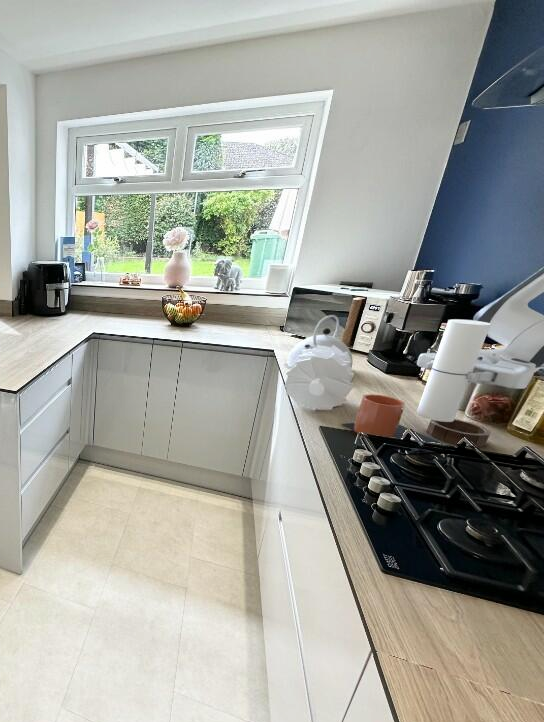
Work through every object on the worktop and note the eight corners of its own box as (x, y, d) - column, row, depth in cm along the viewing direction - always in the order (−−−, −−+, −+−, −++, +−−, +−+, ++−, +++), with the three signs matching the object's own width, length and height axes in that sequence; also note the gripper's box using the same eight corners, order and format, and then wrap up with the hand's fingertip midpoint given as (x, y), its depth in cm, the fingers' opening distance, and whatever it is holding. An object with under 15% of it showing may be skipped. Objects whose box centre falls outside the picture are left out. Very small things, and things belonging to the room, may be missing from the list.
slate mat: (458, 451, 102) (458, 450, 101) (402, 455, 100) (402, 453, 100) (390, 422, 118) (391, 420, 118) (341, 424, 117) (342, 423, 117)
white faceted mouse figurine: (291, 420, 129) (300, 394, 147) (360, 411, 117) (360, 384, 135) (273, 368, 127) (285, 349, 146) (341, 353, 115) (344, 334, 134)
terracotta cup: (402, 439, 108) (414, 405, 104) (373, 441, 107) (384, 407, 104) (372, 425, 116) (382, 393, 113) (345, 427, 115) (354, 395, 112)
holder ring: (497, 446, 104) (502, 434, 103) (460, 448, 103) (465, 436, 102) (450, 427, 115) (454, 416, 114) (416, 429, 114) (420, 418, 112)
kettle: (330, 380, 155) (345, 322, 147) (272, 365, 173) (283, 314, 166) (361, 370, 166) (377, 317, 159) (304, 358, 185) (315, 309, 177)
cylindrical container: (409, 412, 107) (440, 320, 99) (429, 409, 109) (461, 318, 100) (440, 423, 101) (477, 325, 92) (461, 420, 102) (498, 323, 94)
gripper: (440, 345, 112) (406, 349, 109) (546, 365, 94) (508, 371, 90) (433, 367, 114) (399, 371, 111) (534, 390, 96) (497, 396, 92)
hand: (449, 371), depth 100 cm, fingers closed on cylindrical container, 7 cm apart
